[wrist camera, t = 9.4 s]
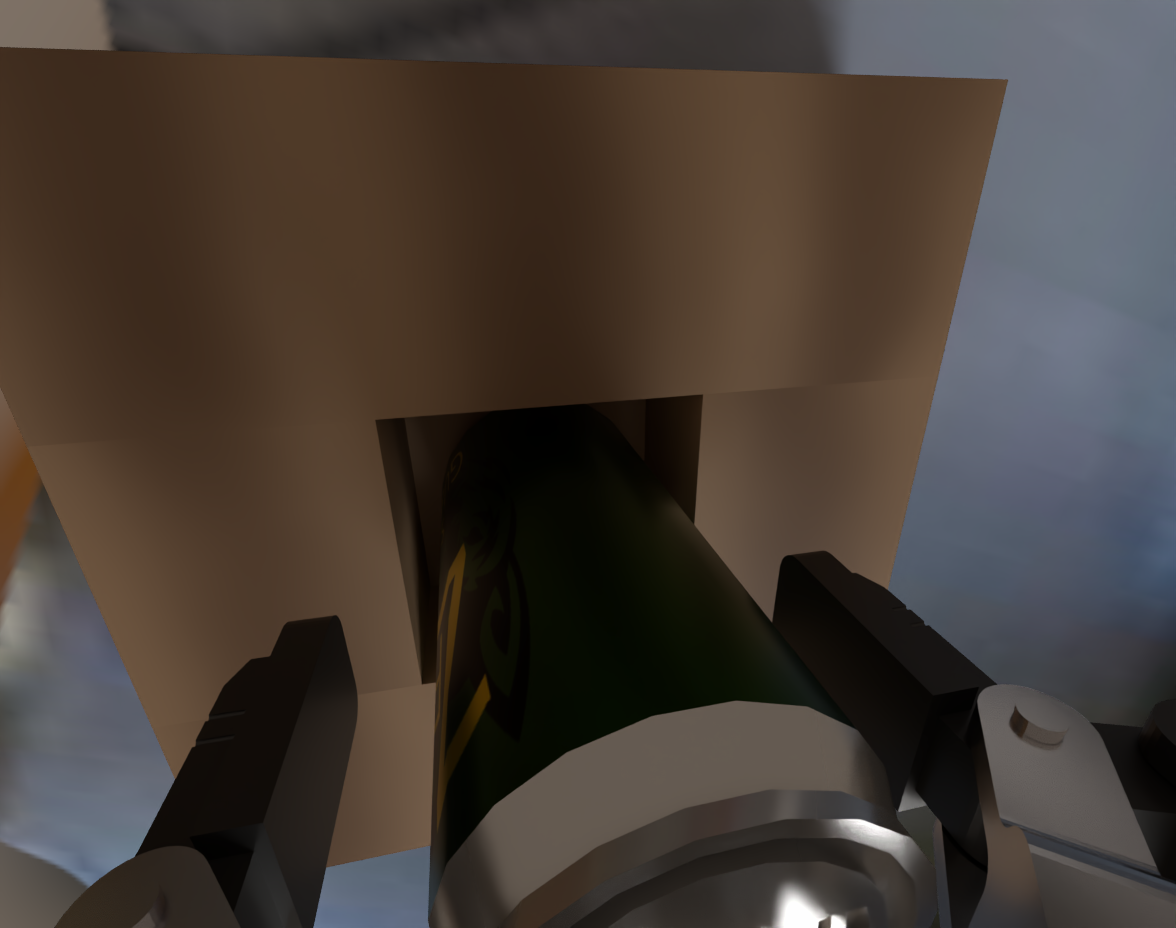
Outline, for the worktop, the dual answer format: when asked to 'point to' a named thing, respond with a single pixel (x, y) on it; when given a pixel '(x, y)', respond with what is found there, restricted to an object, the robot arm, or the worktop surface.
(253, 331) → the socket block
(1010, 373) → the worktop surface
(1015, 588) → the worktop surface
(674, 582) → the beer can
